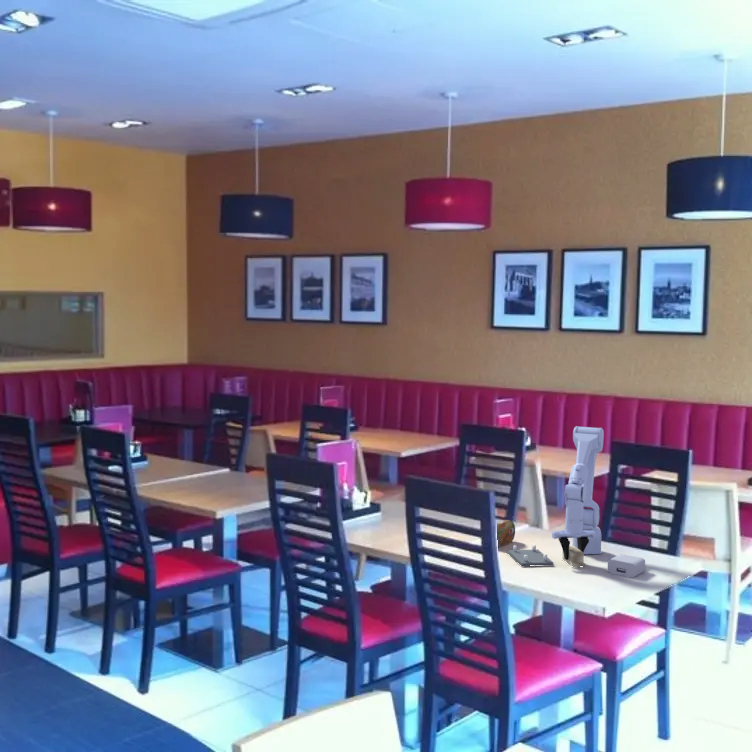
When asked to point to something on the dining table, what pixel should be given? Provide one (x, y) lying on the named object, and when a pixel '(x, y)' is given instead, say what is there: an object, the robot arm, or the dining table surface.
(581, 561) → the birch block
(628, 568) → the charger
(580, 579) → the dining table surface
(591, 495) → the robot arm
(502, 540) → the tin
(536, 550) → the standoff plate
